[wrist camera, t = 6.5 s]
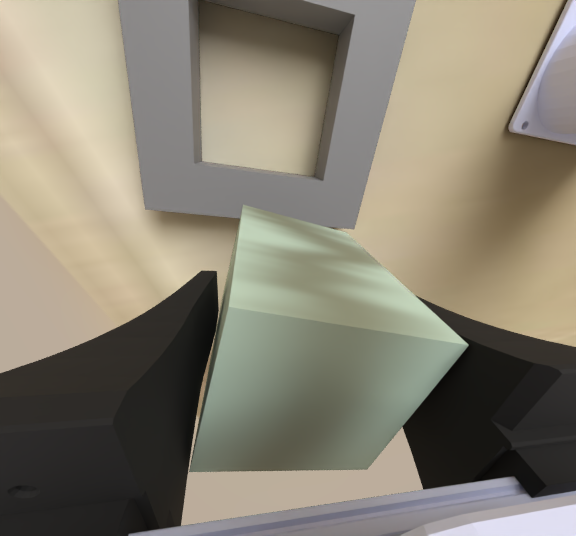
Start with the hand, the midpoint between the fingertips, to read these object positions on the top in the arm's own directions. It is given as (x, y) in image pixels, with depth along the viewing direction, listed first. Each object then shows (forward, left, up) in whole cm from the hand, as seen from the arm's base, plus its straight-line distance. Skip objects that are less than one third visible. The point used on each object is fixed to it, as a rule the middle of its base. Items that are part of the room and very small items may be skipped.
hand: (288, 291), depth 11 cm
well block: (+1, -8, -9) cm, 13 cm away
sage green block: (0, 0, -2) cm, 2 cm away
